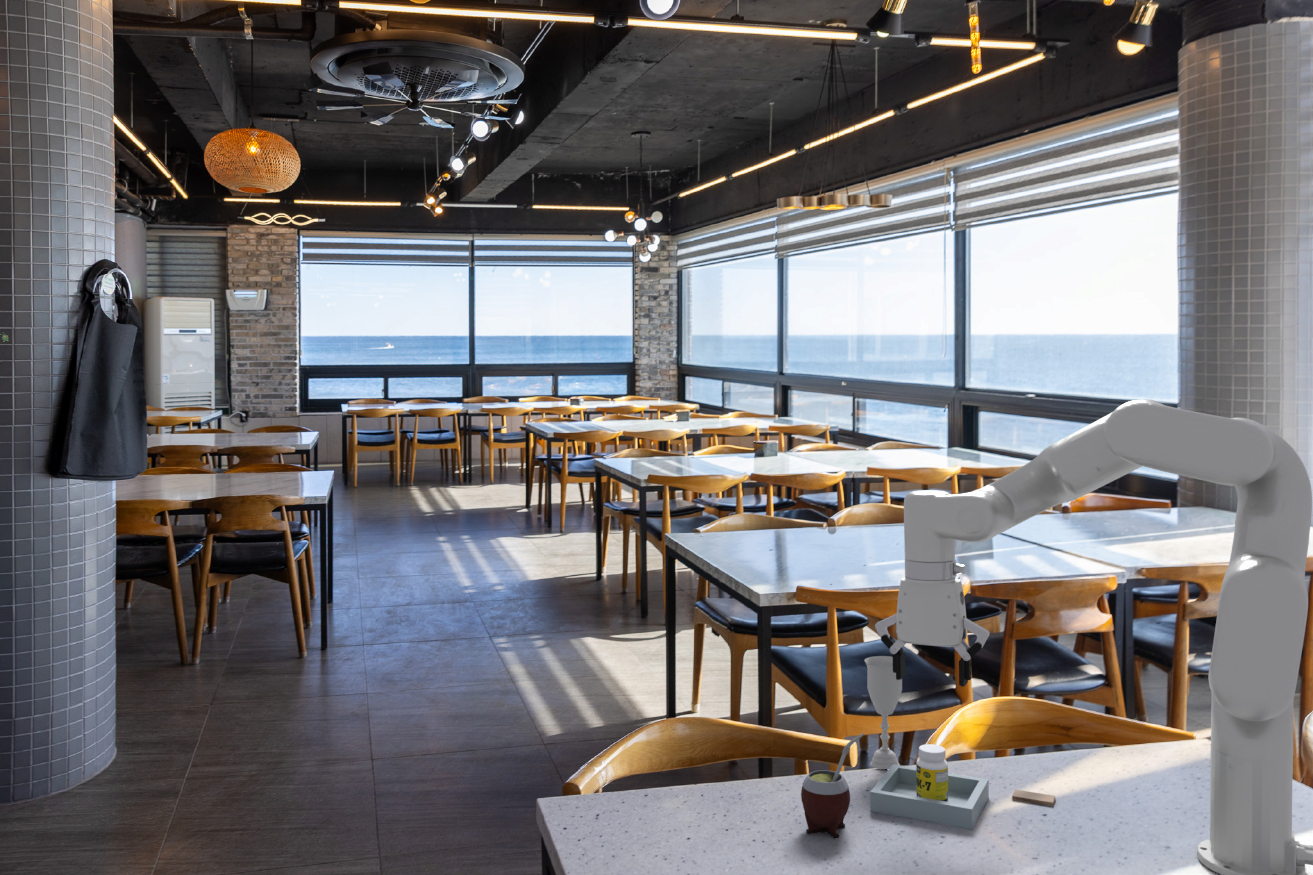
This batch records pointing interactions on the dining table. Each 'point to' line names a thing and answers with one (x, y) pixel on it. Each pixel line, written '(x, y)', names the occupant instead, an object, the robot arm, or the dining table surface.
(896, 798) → the tray
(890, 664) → the chalice
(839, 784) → the mate gourd
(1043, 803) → the walnut pad
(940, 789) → the supplement bottle
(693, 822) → the dining table surface
